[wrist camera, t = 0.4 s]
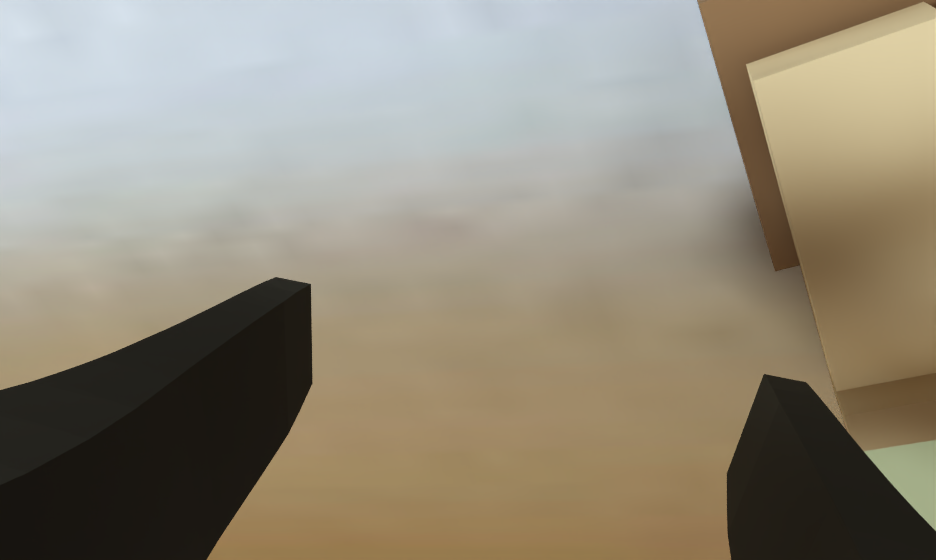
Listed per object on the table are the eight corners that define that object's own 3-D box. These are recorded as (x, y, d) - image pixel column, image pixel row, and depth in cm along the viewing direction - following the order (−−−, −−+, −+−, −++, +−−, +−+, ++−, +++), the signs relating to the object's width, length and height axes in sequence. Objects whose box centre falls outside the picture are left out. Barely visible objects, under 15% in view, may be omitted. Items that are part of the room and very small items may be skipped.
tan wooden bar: (984, 365, 16) (1024, 426, 14) (834, 393, 17) (854, 452, 15) (923, 1, 13) (964, 23, 11) (745, 64, 14) (758, 93, 12)
